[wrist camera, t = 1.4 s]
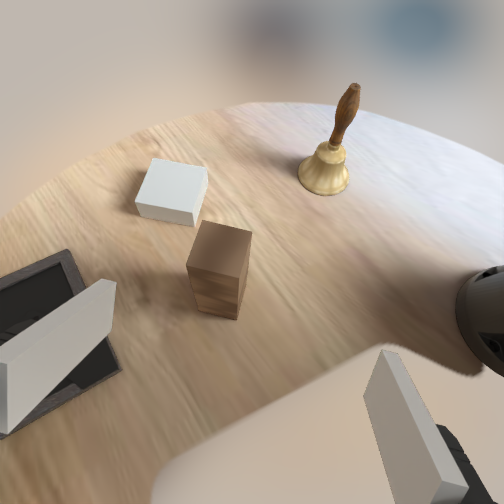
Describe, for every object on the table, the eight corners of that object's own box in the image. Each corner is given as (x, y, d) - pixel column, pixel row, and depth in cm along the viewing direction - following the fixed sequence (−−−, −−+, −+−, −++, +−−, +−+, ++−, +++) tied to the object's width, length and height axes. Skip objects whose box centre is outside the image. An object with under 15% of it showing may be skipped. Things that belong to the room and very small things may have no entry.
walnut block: (246, 284, 45) (252, 231, 32) (236, 320, 43) (239, 278, 30) (210, 275, 45) (202, 219, 33) (198, 310, 43) (185, 265, 30)
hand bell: (287, 169, 54) (307, 79, 40) (325, 148, 57) (357, 57, 43) (320, 204, 51) (355, 122, 37) (359, 181, 54) (405, 95, 40)
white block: (208, 185, 52) (206, 167, 49) (194, 228, 49) (192, 212, 45) (158, 175, 52) (153, 157, 49) (141, 217, 49) (134, 201, 45)
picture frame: (123, 370, 40) (72, 253, 46) (118, 368, 38) (65, 246, 44) (5, 439, 36) (-33, 301, 42) (-7, 440, 34) (-45, 296, 41)
